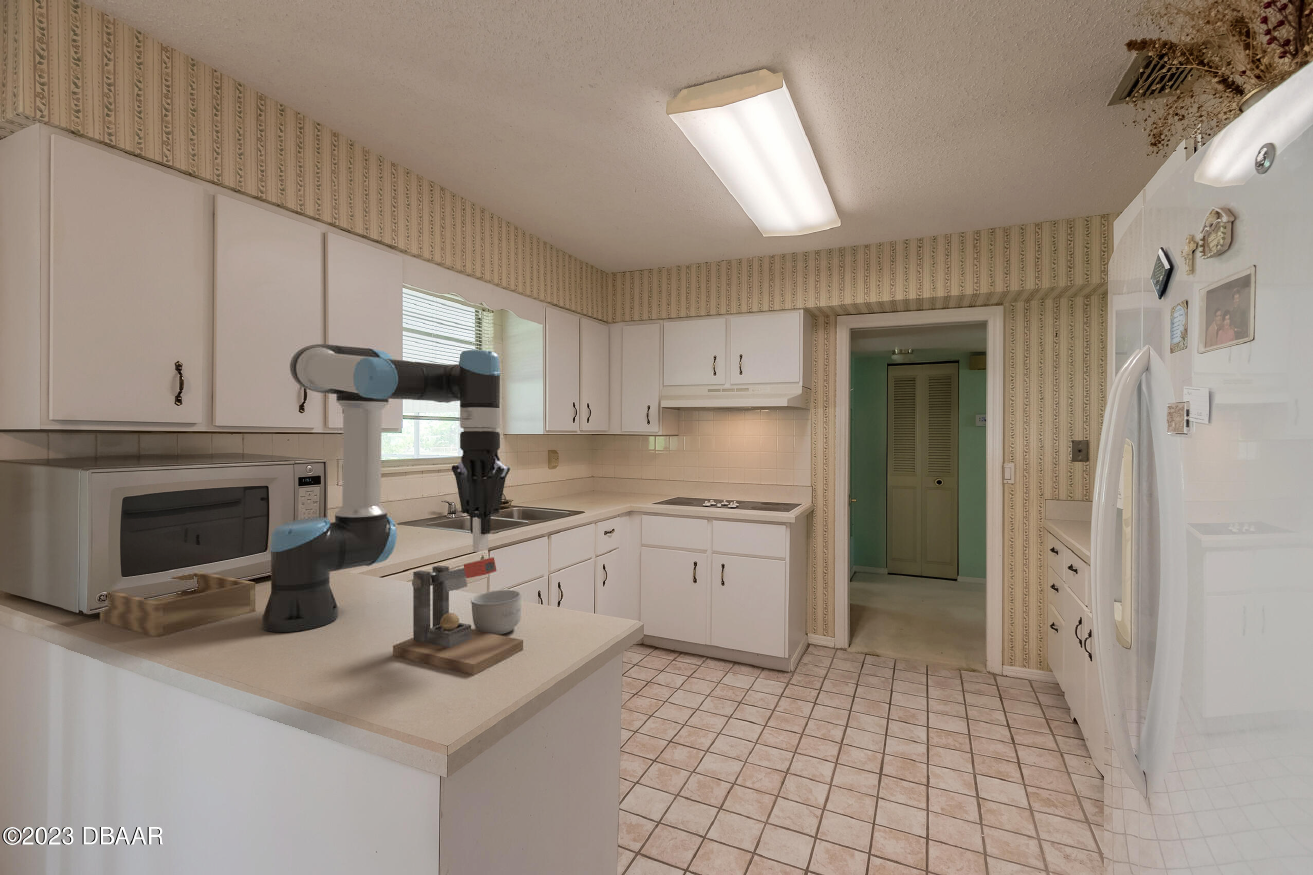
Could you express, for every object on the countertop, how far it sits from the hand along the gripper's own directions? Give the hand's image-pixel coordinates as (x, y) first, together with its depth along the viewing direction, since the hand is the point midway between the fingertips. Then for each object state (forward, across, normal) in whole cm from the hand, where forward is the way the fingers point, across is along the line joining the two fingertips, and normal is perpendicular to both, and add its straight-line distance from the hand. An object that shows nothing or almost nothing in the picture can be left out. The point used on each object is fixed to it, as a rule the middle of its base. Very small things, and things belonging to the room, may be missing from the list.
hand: (480, 550), depth 116 cm
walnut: (+15, -8, 0) cm, 17 cm away
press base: (+21, -6, 0) cm, 22 cm away
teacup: (+21, -8, +15) cm, 27 cm away
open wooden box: (+20, -82, -12) cm, 86 cm away
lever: (+8, -5, 0) cm, 10 cm away
